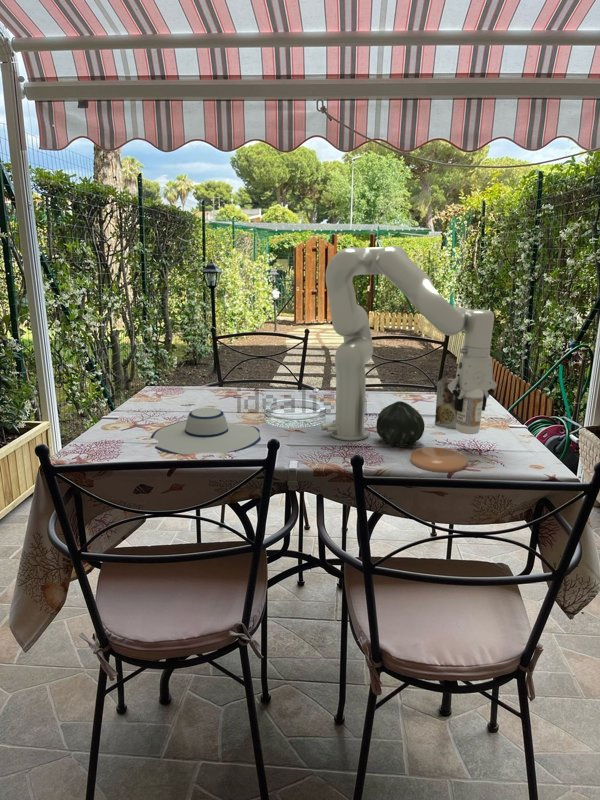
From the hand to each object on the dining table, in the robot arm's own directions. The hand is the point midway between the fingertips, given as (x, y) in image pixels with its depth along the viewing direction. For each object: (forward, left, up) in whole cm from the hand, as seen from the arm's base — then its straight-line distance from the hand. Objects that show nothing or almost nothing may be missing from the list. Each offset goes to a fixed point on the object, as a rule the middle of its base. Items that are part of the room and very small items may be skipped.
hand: (469, 409), depth 167 cm
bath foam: (0, 0, -7) cm, 7 cm away
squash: (-17, +11, -13) cm, 24 cm away
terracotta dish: (-13, -7, -13) cm, 20 cm away
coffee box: (+8, +24, -13) cm, 28 cm away
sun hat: (-76, +32, -14) cm, 84 cm away
